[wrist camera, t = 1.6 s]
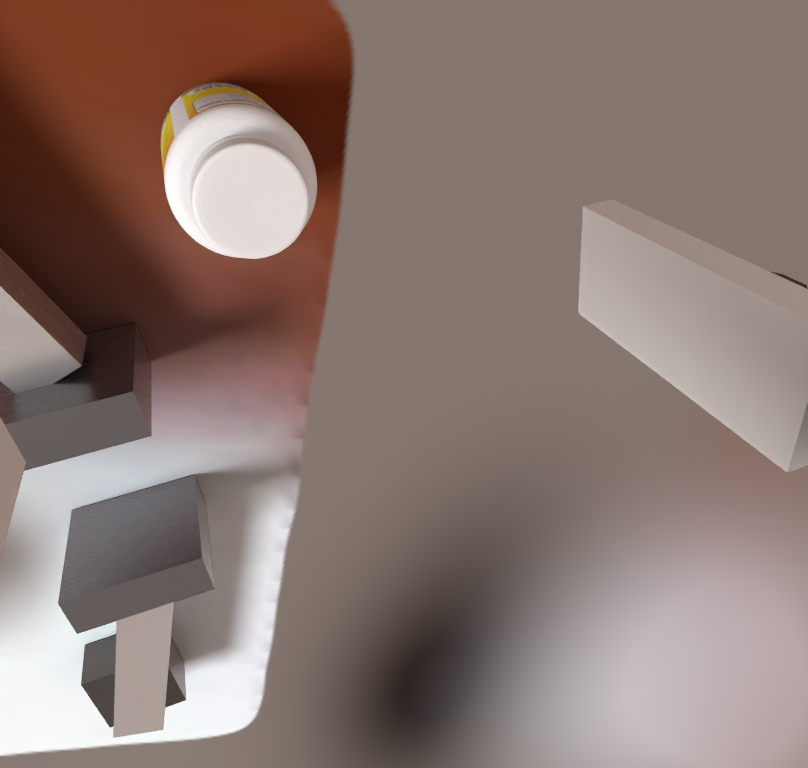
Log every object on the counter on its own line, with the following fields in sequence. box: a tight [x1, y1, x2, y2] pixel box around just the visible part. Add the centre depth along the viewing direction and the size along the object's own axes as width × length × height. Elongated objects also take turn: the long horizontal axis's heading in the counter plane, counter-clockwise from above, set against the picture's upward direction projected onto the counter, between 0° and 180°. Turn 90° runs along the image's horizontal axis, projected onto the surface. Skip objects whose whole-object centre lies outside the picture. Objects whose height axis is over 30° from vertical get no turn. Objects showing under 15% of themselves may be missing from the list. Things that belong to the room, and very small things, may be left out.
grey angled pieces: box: [0, 248, 215, 738], centre depth 33 cm, size 10×40×7 cm, turn 6°
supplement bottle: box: [161, 82, 317, 259], centre depth 26 cm, size 6×6×10 cm
